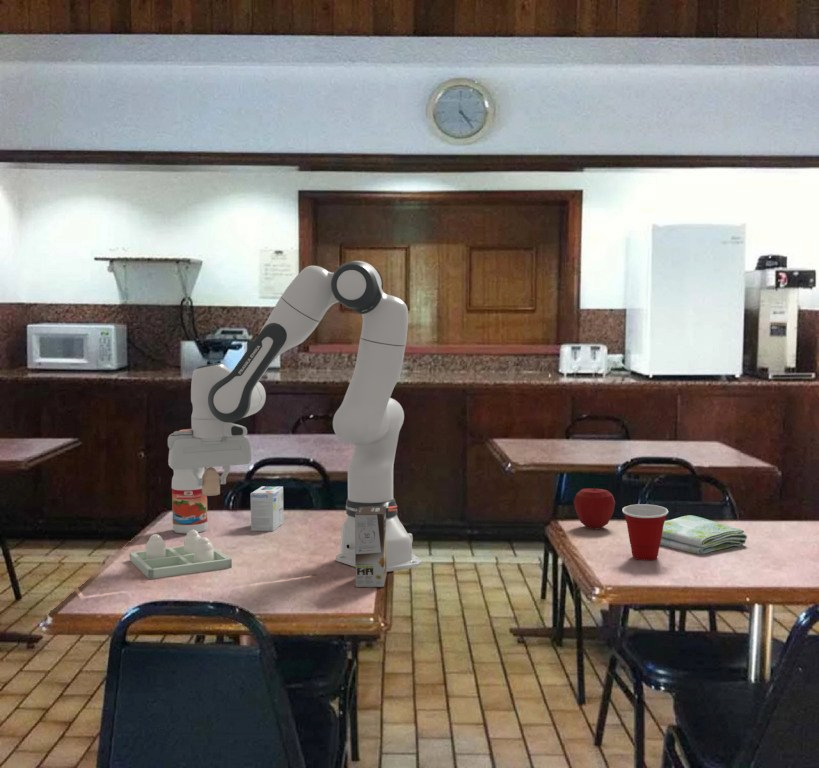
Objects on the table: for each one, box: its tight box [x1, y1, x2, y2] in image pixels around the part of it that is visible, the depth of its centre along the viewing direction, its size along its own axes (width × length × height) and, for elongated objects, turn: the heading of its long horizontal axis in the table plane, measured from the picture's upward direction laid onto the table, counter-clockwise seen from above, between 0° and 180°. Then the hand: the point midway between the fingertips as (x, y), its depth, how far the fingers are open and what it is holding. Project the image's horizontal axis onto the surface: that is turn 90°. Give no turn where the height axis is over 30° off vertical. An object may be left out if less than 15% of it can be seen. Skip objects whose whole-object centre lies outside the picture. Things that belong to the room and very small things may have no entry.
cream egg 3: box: [194, 536, 214, 563], centre depth 221 cm, size 4×4×7 cm
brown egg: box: [202, 467, 221, 497], centre depth 233 cm, size 4×4×7 cm
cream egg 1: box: [145, 533, 166, 560], centre depth 224 cm, size 4×4×7 cm
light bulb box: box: [249, 485, 284, 532], centre depth 264 cm, size 11×7×11 cm, turn 172°
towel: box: [660, 514, 748, 555], centre depth 242 cm, size 18×21×5 cm
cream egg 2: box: [183, 530, 202, 555], centre depth 228 cm, size 4×4×7 cm
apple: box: [573, 485, 616, 530], centre depth 260 cm, size 11×11×12 cm
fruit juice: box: [171, 428, 208, 535], centre depth 260 cm, size 9×9×28 cm
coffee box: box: [355, 506, 387, 588], centre depth 207 cm, size 9×6×16 cm
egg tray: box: [129, 545, 233, 580], centre depth 223 cm, size 19×19×2 cm
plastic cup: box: [622, 503, 669, 561], centre depth 226 cm, size 11×11×12 cm
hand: (210, 484), depth 233 cm, fingers closed on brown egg, 4 cm apart
